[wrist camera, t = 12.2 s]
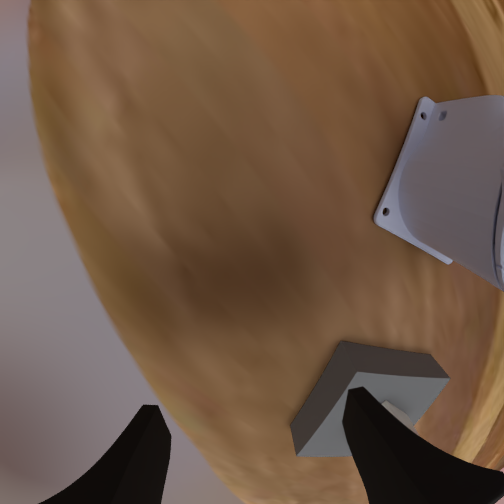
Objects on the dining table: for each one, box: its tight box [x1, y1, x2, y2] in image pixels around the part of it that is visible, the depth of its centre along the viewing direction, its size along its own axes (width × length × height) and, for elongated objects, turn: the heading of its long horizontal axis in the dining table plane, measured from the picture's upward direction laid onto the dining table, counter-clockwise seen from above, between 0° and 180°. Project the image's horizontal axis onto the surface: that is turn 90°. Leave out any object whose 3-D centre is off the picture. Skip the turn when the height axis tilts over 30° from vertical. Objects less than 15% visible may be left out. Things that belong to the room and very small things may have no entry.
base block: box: [290, 341, 450, 457], centre depth 21 cm, size 10×10×4 cm
